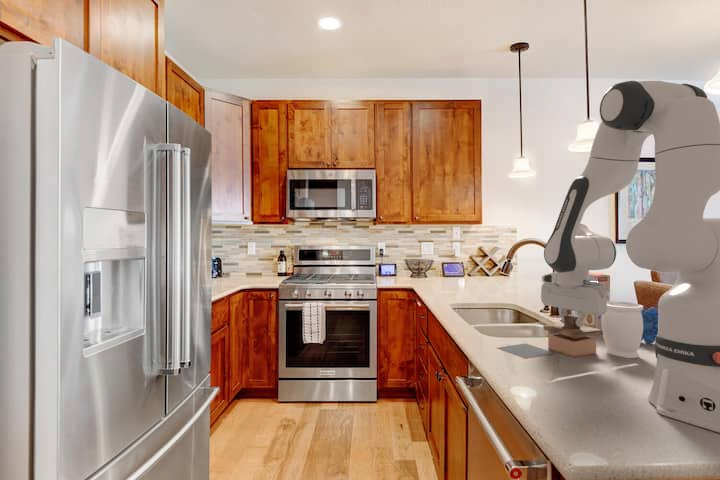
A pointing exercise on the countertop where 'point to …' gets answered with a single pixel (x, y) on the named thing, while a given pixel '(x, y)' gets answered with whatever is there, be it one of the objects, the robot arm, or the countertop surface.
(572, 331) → the lid
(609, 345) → the jar
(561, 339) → the dish
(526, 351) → the mat
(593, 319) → the cracker box
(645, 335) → the grapes
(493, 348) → the countertop surface
